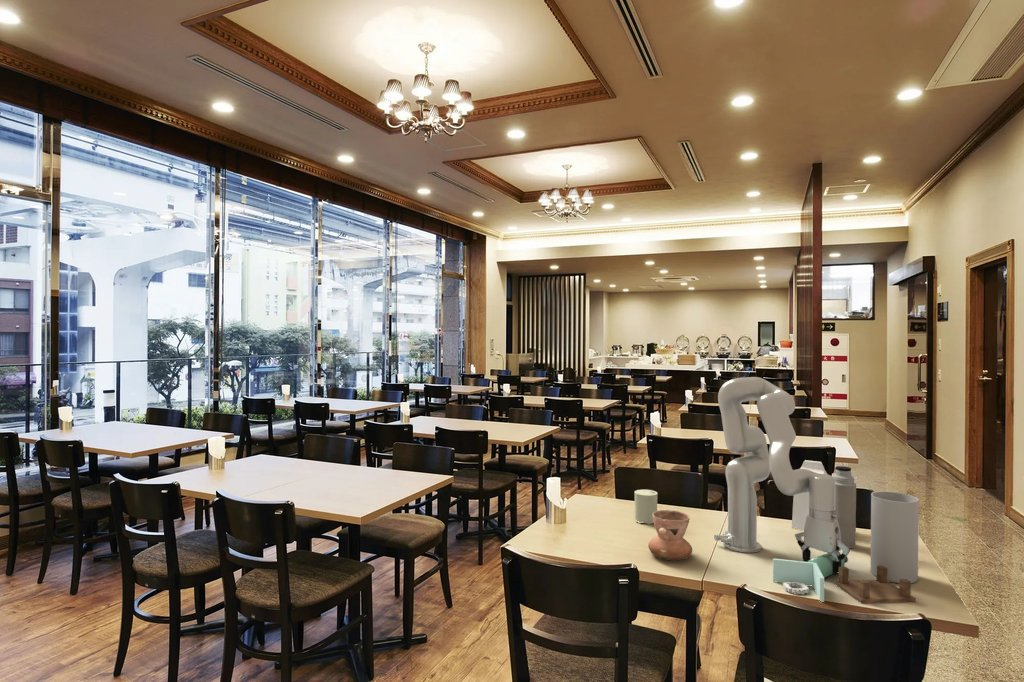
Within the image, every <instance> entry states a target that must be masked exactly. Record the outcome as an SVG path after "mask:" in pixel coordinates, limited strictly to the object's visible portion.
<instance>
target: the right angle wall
mask: <svg viewBox="0 0 1024 682" xmlns="http://www.w3.org/2000/svg"><path fill="white" fill-rule="evenodd" d="M773 581H777V582H776V583H778V582H785V583H782V589H783V588H784V589H785V590H787V591H788V593H789V592H792V593H795V594H796V595H798V594H802V595H805V594H804V593H807V592H808V593H809V592H810V591H809V590H810V588H809V587H810V586H806V585H812V586H811V587H812V588H813V587H814V588H813V590H814V589H815V590H814V592H815V591H816V592H815V594H816V593H817V595H818V597H819V599H820V601H821V602H820V601H819V602H820V603H822V602H824V603H825V577H823V575H822V573H821V571H820V569H819V567H818V565H817V563H813V562H803V560H802V561H800V560H791V559H782V558H772V582H773ZM796 587H798V588H796ZM799 588H801V589H799ZM784 589H783V590H784ZM785 590H784V591H785ZM787 591H786V592H787ZM792 593H791V594H792ZM808 593H807V594H808ZM817 595H816V596H817ZM818 597H817V598H818ZM819 599H818V600H819Z"/></svg>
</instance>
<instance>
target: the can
mask: <svg viewBox="0 0 1024 682" xmlns="http://www.w3.org/2000/svg"><path fill="white" fill-rule="evenodd" d="M655 511H658V492H657V491H655V490H653V489H637V490H634V518H633V520H634V519H635V520H637V521H639V522H643V523H654V522H653V517H652V514H653V512H655Z"/></svg>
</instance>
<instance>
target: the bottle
mask: <svg viewBox="0 0 1024 682" xmlns="http://www.w3.org/2000/svg"><path fill="white" fill-rule="evenodd" d="M834 560H835V559H834V558H833V556H832V555H831V553H827V552H826V553H823V554H821V555H818V556H816V557H812V558H811V559H810V560H809V561H808V562H813V563H817V565H818V567H819V569H820V571H821V573H822V575H823V577H824V578H826V577H830V576H831V575H833V574H834V573H833V561H834ZM848 562H849V558H848V556H847V557H845V558H844V559H843V560H841V567H846V563H848Z"/></svg>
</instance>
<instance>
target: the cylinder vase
mask: <svg viewBox="0 0 1024 682" xmlns="http://www.w3.org/2000/svg"><path fill="white" fill-rule="evenodd" d="M919 500H920V499H919V498H918V497H916V496H913V495H911V494H906V493H901V492H894V491H872V492H871V493H870V572H871V574H872V575H874V576H875V577H876V578H877V566H885V567H886V568H887V581H888V582H890V583H892V584H893V583H894V584H900V579H907V580H909V581H911V584H914V583H916V582H917V581H918V580H919V521H920V520H919V519H920V518H919V516H920V515H919V514H920V513H919V510H920V509H919V507H920V506H919V505H920V503H919Z"/></svg>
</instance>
